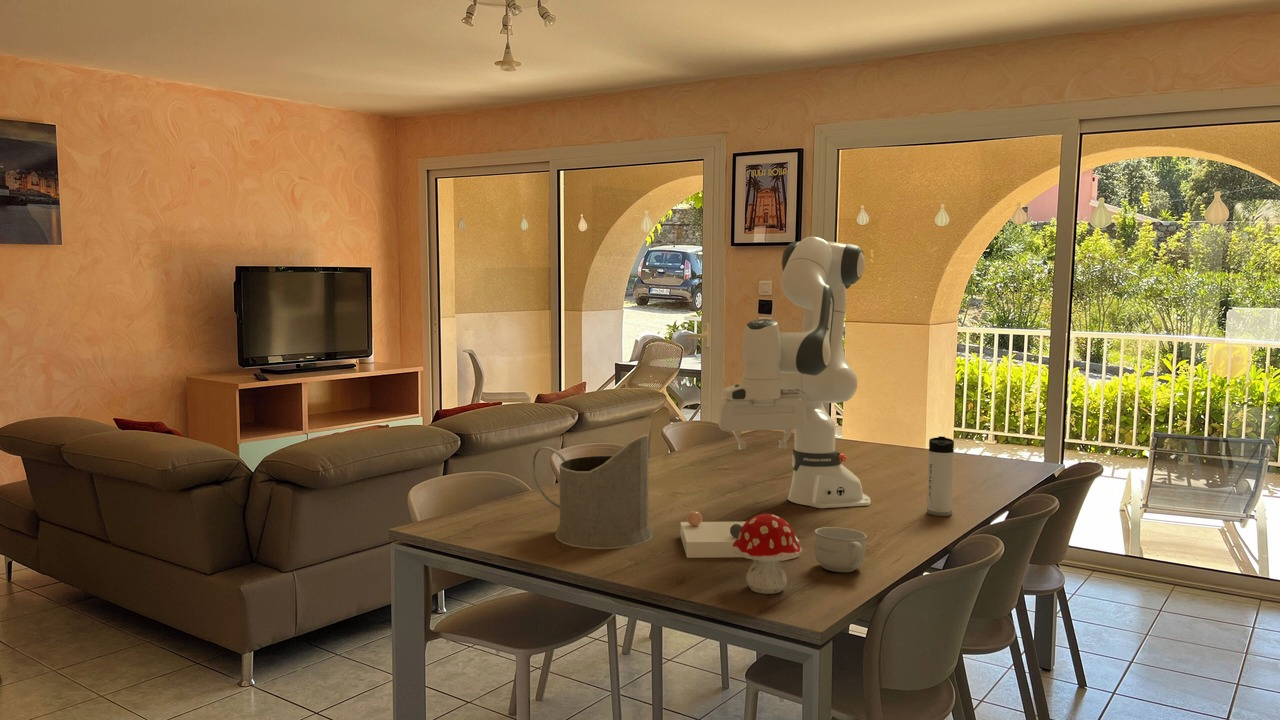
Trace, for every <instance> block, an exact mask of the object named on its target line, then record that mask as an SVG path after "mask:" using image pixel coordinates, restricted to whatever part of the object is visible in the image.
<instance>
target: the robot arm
mask: <svg viewBox="0 0 1280 720" xmlns="http://www.w3.org/2000/svg"><path fill="white" fill-rule="evenodd" d="M865 266H866V260H865V254H864V251H863V249H861V246H858V245H856V244H852V243H842V242H836V241H826V240H825V239H823V238H822V237H818V236H807V237H804V238H803V239H801V240H800V241H794V242H790V243H789V244H787V246H786V247H785V248H784V250H783V253H782V256H781V268H782V269H781V270H782V274H781V279H780V287H781V291H782V293H783V294H784V296H785V297H786V299H787V300H789V302H790V303H792V304H793V305H795V306H796V307H799V308H803V309H804V312H803V320H802V328H801V331H800V332H798V331H797V332H796V331H795V332H794V331H793V332H792V331H790V332H789V331H787V332H786V331H781V330H780V328H779V323H778V321H776V320H774V319H771V318H770V319H769V318H762V319H761V318H760V319H754V320H751V321H749V322H747V323H746V324H745V327H744V330H743V339H742V362H743V365H744V370H743V374H742V382H738V383H735V384H734V385H730V386H727V387H725V388H724V389H723V397H724V398H723V399H722V400H721V402H720V405H719V411H718V423H717V424H718V427H719V429H720V430H721V431H723V432H733V435H734V437H735V438H736V440H737V442H738V450H739V451H745V450H747V447H746V445H747V442H746V441H745V440H742V439H741V437H740V436H742V432H743V431H744V432H745V431H746V432H747V431H748V432H749V431H776V430H777V431H780V430H783V433H784V435H783V437H782V439H778V448H779V449H781V450H783V449H787V441H788V440H789V438H790V437H791V434H792V430H793V431H794V432H793V433H794V448H793V450H792V455H791V457H792V458H791V466H792V469H793V471H792V478H791V484H790V490H789V493H788V496H787V500H788V501H790V502H791V503H795V504H798V505H803V506H809V507H813V508H818V509H827V508H828V509H829V508H830V509H831V508H845V507H846V508H847V507H864V506H870V505H871V503H872V502H871V501H872V500H871V498H870V497H869V495H867V494H865V493H864V491H863V487H862V483H861V480H860V478H859V477H858V476H856V475H855V474H854V473H853V472H852V471H851V470H849V469H848V468H847V467H846V466H845V465H843V464H842V463H844V462H846V461H848V457H847V455H845V454H844V453H841V452H839V451H837V449H836V423H835V420H834V418H832V417H831V416H830V415H829V414H828V411H827V410H826V408H825V406H824V403H827V404H828V403H829V404H833V403H834V404H837V403H843V402H844V403H845V402H849V401H850V400H851V399H852V398H853V397H854V395H855V394H856V392H857V389H858V378H857V374H856V372H855V370H853V369H852V367H851V366H850V365H849V363H848V361H847V359H846V355H845V351H844V343H843V340H844V339H843V337H844V325H845V316H846V308H847V290H849V289H850V287H851V286H852V285H854V284H856V283H857V282H858V281H859V280H860V279H861V278H862V277H863V276H862V275H863V272H864V270H865Z"/></svg>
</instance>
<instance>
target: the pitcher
mask: <svg viewBox="0 0 1280 720" xmlns="http://www.w3.org/2000/svg"><path fill="white" fill-rule="evenodd" d="M649 437H650V436H649V435H648V434H643V435H640V436H638V437H636V438H635V439H633V440H630V441H629V443H627V444H626V445H624V447H622V448H621V449H620V450H619V451H618V452H616V453H615V454H614V455H591V456H579V457H574V458H569V459H566V458H565V456H564V455H563V454H562V453H561V452H559V451H558V450H557V449H555V448H552V447H550V446H542V447H538V448H537V449H536V450H535V451H534V453H533V456H532V458H531V459H532V461H531V474H532V481H533V483H534V486H535V487H536V489H537V490H538V492H539V493H540V495H541V496H542V497H543V498H544V500H546V502H548V503H550V504H551V505H552V506H554V507H555V508H557V509H559V524H558V528H557V530H556V533H555V534H554V535H555V539H556V540H558V541H559V542H561V543H562V544H565V545H567V546H571V547H575V548H581V549H582V548H583V549H593V550H594V549H595V550H597V549H598V550H609V549H623V548H624V549H625V548H630V547H635V546H638V545H642V544H644V543H646V542H649V541H650V540H651V539H652V537H653V535H654V534H653V531H652V528H651V527H650V524H649V442H650V441H649ZM541 450H548V451H551V452H553V453H555V454H556V455H557V456H558V457H559V458H560V459H561V461H562V462H560V463H559V504H558V503H556V502H555V501H553V500H552V499H551V498H549V497H548V496H547V495H546V493H545V492H544V491H543V489H542V488H541V487H540V485H539V483H538V480H537V475H536V458H537V455H538V453H539V452H540V451H541Z"/></svg>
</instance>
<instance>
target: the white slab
mask: <svg viewBox="0 0 1280 720" xmlns="http://www.w3.org/2000/svg"><path fill="white" fill-rule="evenodd" d="M746 522H747V521H702V522H701V523H700V524H699V525H698V526H692V525H690V524H689V523H688V521H680V540H681V542H682V545H683V549H684V553H685V557H686V558H687V559H689V558H690V559H693V558H694V559H696V558H703V559H704V558H706V559H707V558H711V559H712V558H743V557H742V556H740V555H737V554H735V552H734V550H733V548H732V545H733V543H734V542H735V541H736V540H737V538H735V537H733V536H732V535H731V533H730V528H731V526H732V525H734V524H739V525H741V526H743V525H744V524H745V523H746ZM795 538H796V541H797V543H798V544H799V545H800V540H799V539H798V537H797V536H796V535H795ZM798 557H800V555H798V556H797V557H796V558H798Z"/></svg>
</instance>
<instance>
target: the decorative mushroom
mask: <svg viewBox="0 0 1280 720" xmlns="http://www.w3.org/2000/svg"><path fill="white" fill-rule="evenodd" d="M745 522H746V523H745V524H744V525H743V526H742V528H741V530H740V533H739V536H738V538H737V540H736V541H735V542H734V543H733V545H732V548H733V550H734V552H735V554H737V555H740V556H742V557H741V558H745V559H747V560H748V559H749V560H752V563H751V566H750V568H749V569H748V571H747V574H746V577H745V580H746V583H747V585H748V587H749V588H750V589H751V591H753V592H755V593H757V594H763V595H768V594H770V595H775V594H777V593H781V592H782V591H783V590H784V589H785V587H786V586H787V583H788V578H787V575H786V573H785V570H784V569H783V566H782V563H781V561H782V562H783V561H787V560H791V559H796V558H798V557H797V556H798V555H799V556H800V555H801V554H802V552H803V548H802V547H801V545H800V543H799V544H798V543H797V541H796V538H795V536H796V535H795V531H794V530H793V528H792V527H791V526H790V524H789V523H788V522H787V521H786V520H785V519H784V518H782V517H780V516H777V515H775V514H772V513H762V514H757V515H754V516H753V517H751V518H750V519H749V520H747V521H745Z"/></svg>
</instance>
